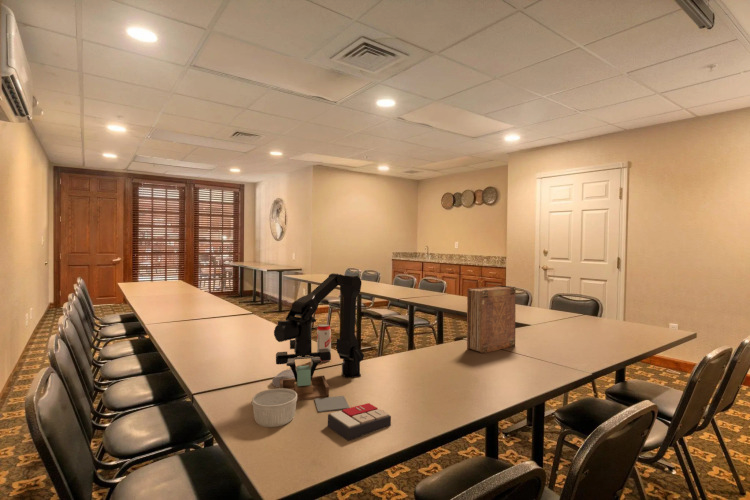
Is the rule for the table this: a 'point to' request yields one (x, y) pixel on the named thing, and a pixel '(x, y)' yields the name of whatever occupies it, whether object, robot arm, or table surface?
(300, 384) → the teal block
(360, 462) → the table surface
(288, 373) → the stone block
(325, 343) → the beer can
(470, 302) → the book
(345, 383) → the table surface
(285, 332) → the robot arm
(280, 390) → the ramekin
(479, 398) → the table surface
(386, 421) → the calculator
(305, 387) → the caddy
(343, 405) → the pad
